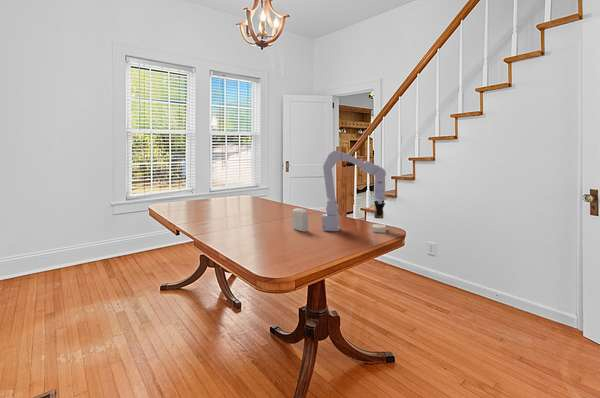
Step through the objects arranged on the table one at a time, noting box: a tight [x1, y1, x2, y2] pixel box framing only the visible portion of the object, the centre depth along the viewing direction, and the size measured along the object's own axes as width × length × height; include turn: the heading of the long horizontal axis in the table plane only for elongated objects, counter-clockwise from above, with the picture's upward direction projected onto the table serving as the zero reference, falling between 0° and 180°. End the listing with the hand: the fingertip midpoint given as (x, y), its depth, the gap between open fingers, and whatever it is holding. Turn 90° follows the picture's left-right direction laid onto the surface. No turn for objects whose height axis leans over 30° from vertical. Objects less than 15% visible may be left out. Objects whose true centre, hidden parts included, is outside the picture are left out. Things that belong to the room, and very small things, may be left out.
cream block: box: [371, 223, 387, 233], centre depth 179 cm, size 7×7×3 cm
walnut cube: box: [373, 209, 384, 219], centre depth 178 cm, size 4×4×4 cm
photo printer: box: [291, 207, 309, 233], centre depth 183 cm, size 10×4×12 cm, turn 40°
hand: (379, 214), depth 178 cm, fingers closed on walnut cube, 4 cm apart
